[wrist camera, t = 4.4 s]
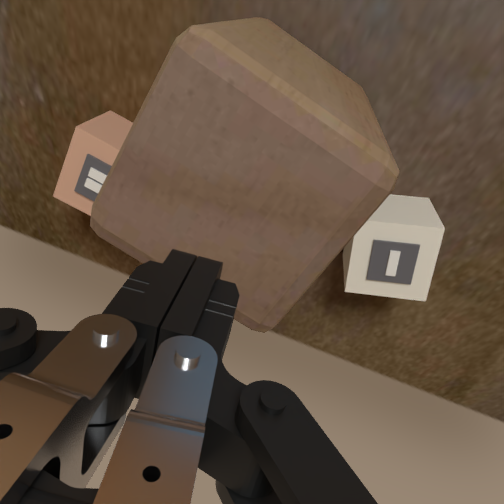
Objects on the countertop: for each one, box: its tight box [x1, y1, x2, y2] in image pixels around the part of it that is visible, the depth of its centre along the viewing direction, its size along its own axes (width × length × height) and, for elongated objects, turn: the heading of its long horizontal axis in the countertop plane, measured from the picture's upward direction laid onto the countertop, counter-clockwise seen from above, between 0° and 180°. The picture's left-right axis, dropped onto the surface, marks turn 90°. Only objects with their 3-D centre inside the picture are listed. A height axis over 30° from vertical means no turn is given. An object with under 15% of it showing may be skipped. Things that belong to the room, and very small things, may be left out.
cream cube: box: [343, 194, 445, 301], centre depth 37 cm, size 6×6×6 cm
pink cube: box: [53, 111, 133, 216], centre depth 37 cm, size 6×6×6 cm
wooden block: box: [90, 17, 400, 333], centre depth 28 cm, size 10×10×20 cm
